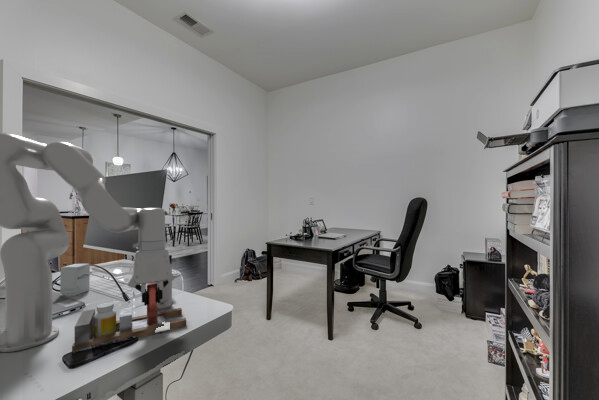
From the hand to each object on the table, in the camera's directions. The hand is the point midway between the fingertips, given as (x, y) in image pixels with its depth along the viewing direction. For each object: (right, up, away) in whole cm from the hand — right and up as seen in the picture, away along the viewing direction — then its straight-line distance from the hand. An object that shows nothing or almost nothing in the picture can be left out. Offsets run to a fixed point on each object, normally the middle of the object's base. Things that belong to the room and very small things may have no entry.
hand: (152, 302), depth 83 cm
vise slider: (-2, -7, -2) cm, 8 cm away
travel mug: (-4, -8, +15) cm, 17 cm away
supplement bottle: (-10, -8, -7) cm, 15 cm away
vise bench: (-4, -8, -3) cm, 9 cm away
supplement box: (-54, -9, +33) cm, 64 cm away
